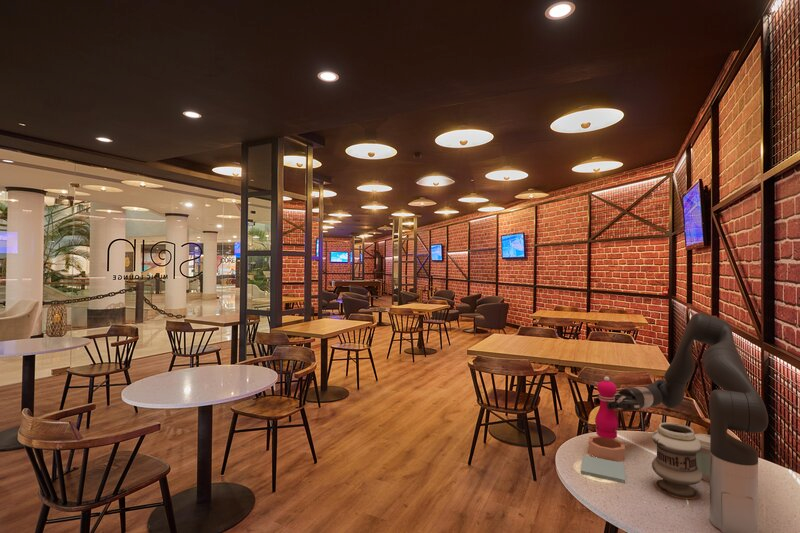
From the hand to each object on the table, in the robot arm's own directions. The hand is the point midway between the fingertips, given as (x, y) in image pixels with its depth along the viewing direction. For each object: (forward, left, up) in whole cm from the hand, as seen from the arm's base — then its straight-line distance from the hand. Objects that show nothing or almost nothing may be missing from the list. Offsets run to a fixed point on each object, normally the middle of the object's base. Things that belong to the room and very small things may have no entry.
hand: (601, 403), depth 140 cm
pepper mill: (+2, -2, -11) cm, 12 cm away
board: (-11, -1, -18) cm, 21 cm away
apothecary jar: (-14, -20, -18) cm, 30 cm away
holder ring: (+2, -2, -18) cm, 18 cm away
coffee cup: (-1, -30, -18) cm, 35 cm away
